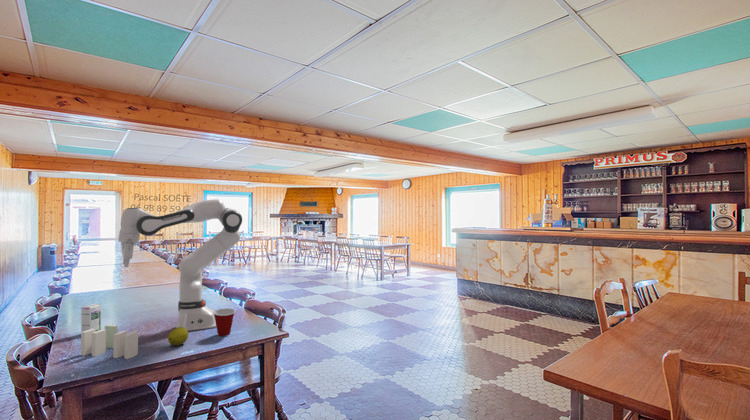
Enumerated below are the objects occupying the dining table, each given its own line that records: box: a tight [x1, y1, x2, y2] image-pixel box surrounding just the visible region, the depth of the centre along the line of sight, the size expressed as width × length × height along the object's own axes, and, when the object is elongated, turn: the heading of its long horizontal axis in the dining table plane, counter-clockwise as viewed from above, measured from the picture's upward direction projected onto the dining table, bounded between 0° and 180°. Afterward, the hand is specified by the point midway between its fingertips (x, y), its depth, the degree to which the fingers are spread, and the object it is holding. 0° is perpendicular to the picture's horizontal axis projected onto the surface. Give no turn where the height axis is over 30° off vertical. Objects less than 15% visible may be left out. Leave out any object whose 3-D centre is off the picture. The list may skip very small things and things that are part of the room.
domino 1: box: [80, 329, 95, 357], centre depth 160 cm, size 2×5×10 cm, turn 170°
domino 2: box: [91, 328, 107, 357], centre depth 159 cm, size 2×5×10 cm, turn 170°
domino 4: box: [112, 330, 128, 359], centre depth 158 cm, size 2×5×10 cm, turn 170°
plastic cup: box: [213, 307, 236, 337], centre depth 186 cm, size 11×11×12 cm
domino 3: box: [104, 324, 119, 349], centre depth 168 cm, size 2×5×10 cm, turn 80°
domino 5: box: [124, 331, 139, 360], centre depth 157 cm, size 2×5×10 cm, turn 170°
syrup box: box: [80, 303, 102, 332], centre depth 188 cm, size 6×6×14 cm
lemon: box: [167, 327, 189, 346], centre depth 171 cm, size 11×8×8 cm
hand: (125, 265), depth 186 cm, fingers open, 8 cm apart
